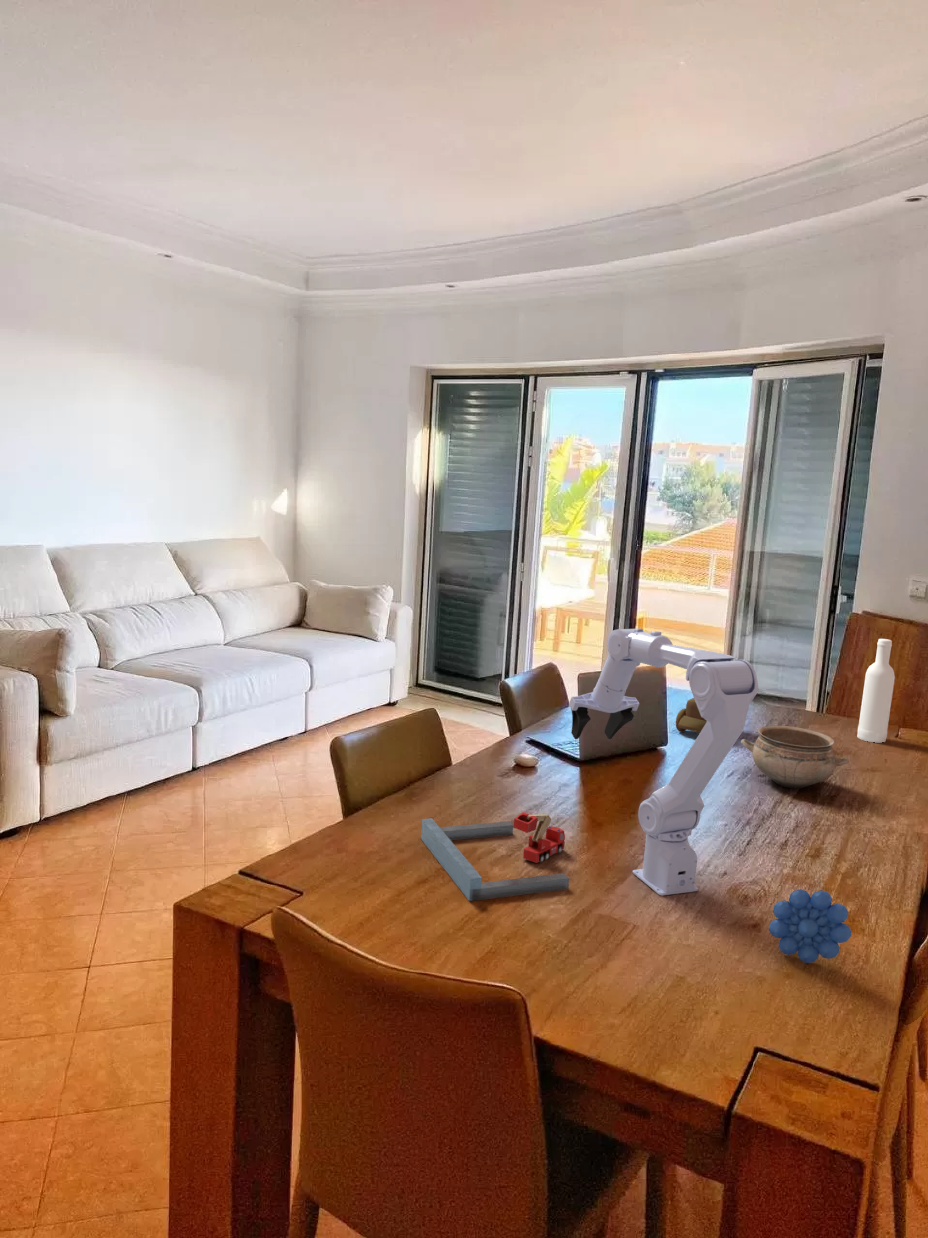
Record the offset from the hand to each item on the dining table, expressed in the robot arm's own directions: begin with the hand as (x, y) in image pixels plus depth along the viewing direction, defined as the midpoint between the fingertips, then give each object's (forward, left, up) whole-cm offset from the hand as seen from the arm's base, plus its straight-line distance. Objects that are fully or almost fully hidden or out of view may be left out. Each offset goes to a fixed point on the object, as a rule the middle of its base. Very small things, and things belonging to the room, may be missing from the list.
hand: (591, 735), depth 180 cm
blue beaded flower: (-54, -10, -20) cm, 58 cm away
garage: (-11, +25, -20) cm, 33 cm away
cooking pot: (+14, -65, -20) cm, 69 cm away
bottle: (+42, -119, -20) cm, 128 cm away
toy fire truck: (-11, +15, -20) cm, 27 cm away
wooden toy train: (+57, -71, -20) cm, 93 cm away
